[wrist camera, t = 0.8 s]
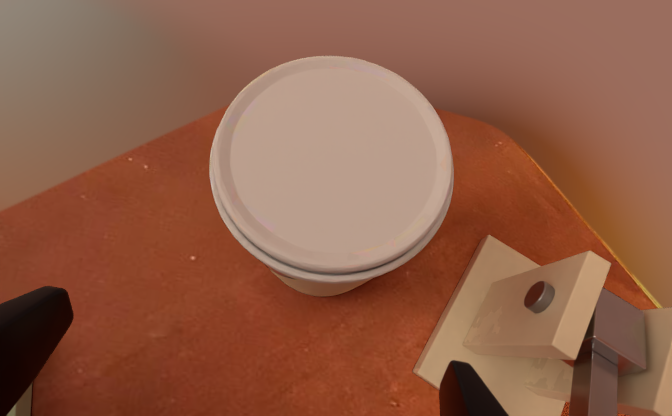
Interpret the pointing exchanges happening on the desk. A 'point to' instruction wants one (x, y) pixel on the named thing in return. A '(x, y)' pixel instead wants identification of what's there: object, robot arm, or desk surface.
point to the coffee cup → (331, 172)
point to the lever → (607, 356)
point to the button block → (23, 404)
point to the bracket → (538, 333)
